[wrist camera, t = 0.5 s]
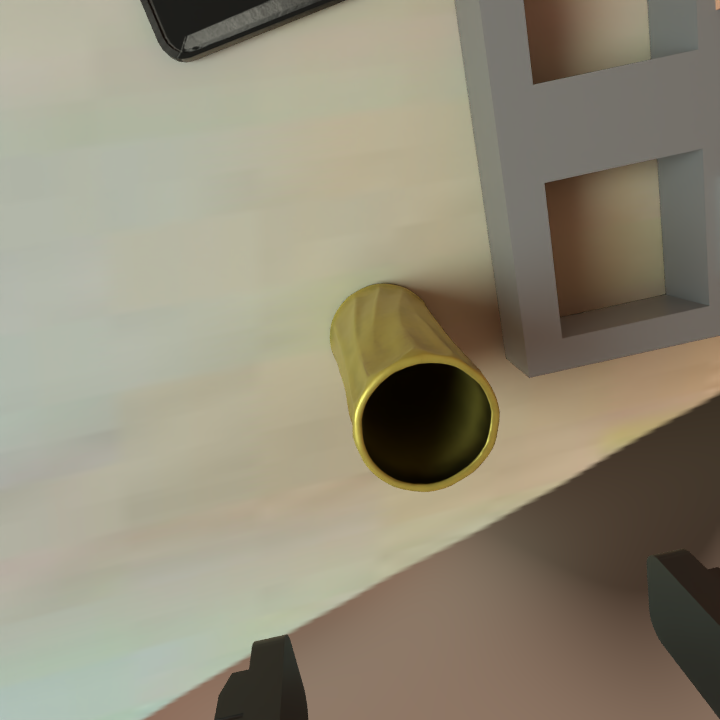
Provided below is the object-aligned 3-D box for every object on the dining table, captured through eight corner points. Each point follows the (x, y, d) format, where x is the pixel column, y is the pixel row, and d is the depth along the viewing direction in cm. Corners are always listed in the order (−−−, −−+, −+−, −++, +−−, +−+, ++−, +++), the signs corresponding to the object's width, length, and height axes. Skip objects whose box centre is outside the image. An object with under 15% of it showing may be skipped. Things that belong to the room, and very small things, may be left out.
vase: (455, 326, 34) (547, 409, 21) (389, 404, 35) (436, 534, 22) (374, 261, 33) (416, 304, 19) (308, 344, 34) (304, 442, 20)
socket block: (439, -105, 29) (462, -161, 24) (736, -167, 29) (812, -234, 24) (505, 358, 35) (533, 380, 31) (748, 304, 35) (809, 319, 31)
